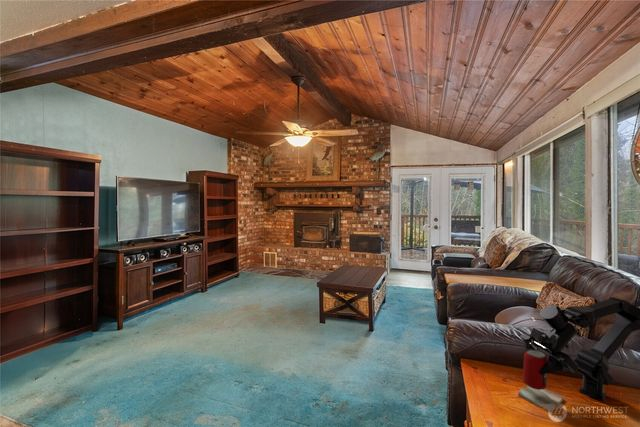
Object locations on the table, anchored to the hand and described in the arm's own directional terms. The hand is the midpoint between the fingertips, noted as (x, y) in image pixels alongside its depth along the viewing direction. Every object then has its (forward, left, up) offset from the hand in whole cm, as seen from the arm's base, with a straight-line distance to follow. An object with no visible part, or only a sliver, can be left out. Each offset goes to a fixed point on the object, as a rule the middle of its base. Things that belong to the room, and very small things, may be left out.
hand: (531, 368), depth 105 cm
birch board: (-3, +2, -11) cm, 12 cm away
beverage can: (-1, +1, -7) cm, 7 cm away
